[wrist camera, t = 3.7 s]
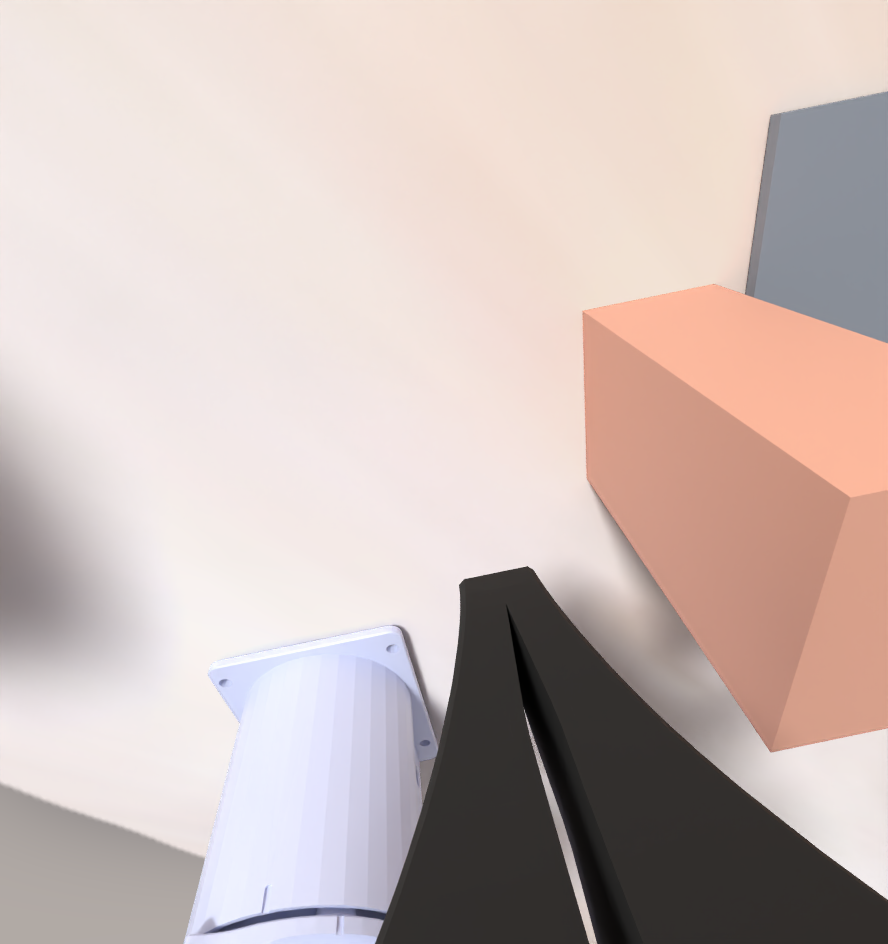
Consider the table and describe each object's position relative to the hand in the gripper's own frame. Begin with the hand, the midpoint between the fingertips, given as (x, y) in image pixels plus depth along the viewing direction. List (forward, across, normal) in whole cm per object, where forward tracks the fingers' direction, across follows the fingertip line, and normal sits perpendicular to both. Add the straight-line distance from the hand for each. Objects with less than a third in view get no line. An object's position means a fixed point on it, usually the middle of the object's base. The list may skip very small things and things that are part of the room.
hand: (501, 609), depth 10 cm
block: (+8, -6, 0) cm, 10 cm away
